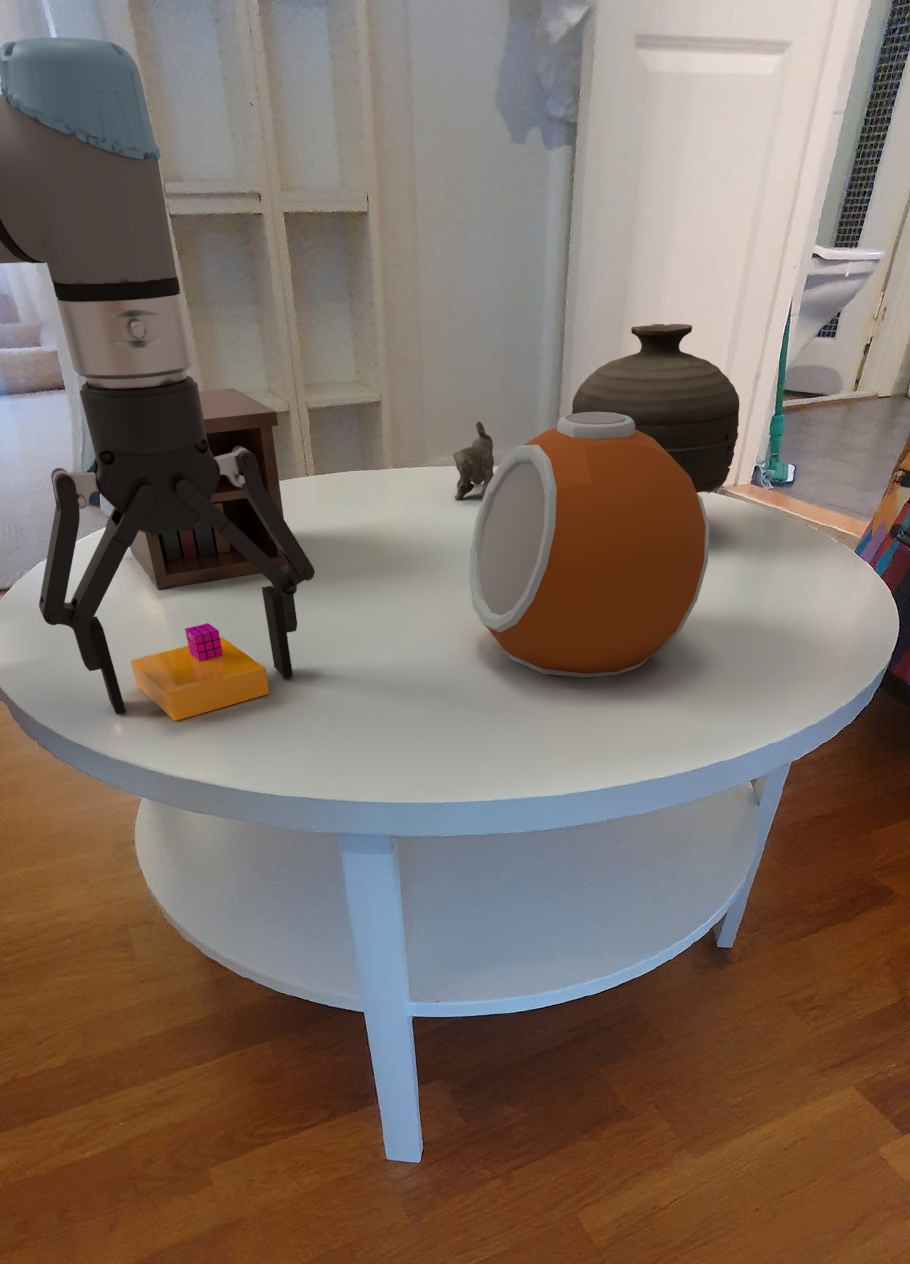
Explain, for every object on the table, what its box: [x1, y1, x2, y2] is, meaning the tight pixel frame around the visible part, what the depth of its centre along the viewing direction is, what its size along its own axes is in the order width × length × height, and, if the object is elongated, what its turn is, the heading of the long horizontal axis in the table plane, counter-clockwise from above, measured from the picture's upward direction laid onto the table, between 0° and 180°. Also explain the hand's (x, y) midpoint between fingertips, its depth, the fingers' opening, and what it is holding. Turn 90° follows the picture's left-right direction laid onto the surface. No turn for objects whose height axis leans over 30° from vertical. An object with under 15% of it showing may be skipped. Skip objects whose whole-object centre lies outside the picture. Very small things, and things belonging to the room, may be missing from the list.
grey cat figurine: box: [452, 421, 495, 501], centre depth 114 cm, size 12×6×7 cm, turn 171°
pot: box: [571, 323, 740, 494], centre depth 97 cm, size 18×18×20 cm
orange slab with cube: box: [130, 622, 270, 722], centre depth 72 cm, size 8×8×4 cm
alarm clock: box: [468, 412, 710, 678], centre depth 73 cm, size 19×18×17 cm
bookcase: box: [129, 387, 288, 590], centre depth 94 cm, size 15×15×14 cm
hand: (203, 689), depth 73 cm, fingers open, 13 cm apart
